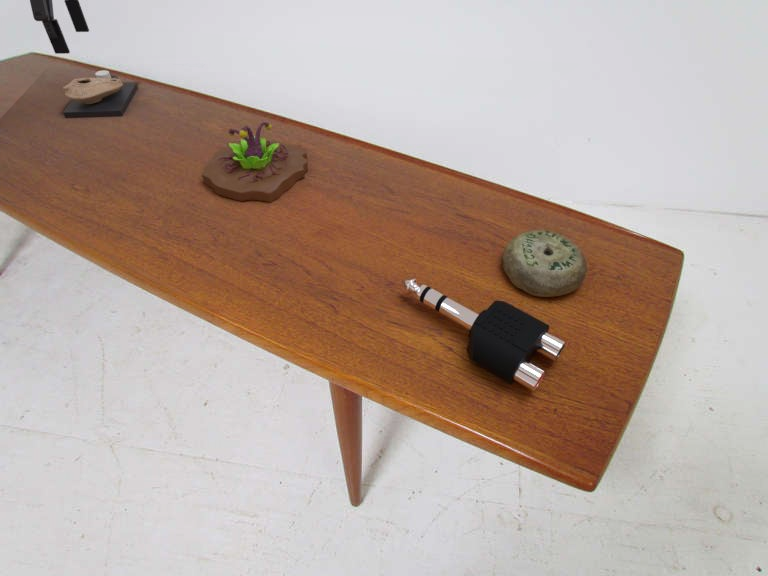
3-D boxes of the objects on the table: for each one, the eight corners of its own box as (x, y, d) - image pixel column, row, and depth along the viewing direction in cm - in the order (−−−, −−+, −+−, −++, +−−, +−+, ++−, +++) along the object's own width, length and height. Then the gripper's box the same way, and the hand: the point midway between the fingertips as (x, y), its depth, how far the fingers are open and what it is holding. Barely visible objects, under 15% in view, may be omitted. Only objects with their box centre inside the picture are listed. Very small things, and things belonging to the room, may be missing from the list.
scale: (65, 118, 118) (58, 104, 115) (87, 88, 129) (81, 75, 127) (122, 116, 119) (117, 102, 117) (138, 87, 131) (134, 73, 128)
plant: (187, 190, 98) (171, 138, 90) (236, 143, 111) (226, 94, 103) (280, 210, 94) (271, 157, 86) (320, 158, 107) (315, 108, 99)
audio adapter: (536, 380, 61) (379, 287, 72) (526, 403, 65) (379, 312, 76) (573, 328, 67) (424, 250, 78) (562, 352, 71) (421, 274, 82)
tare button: (96, 83, 124) (93, 75, 123) (100, 78, 127) (97, 70, 125) (110, 83, 125) (106, 75, 123) (113, 78, 127) (110, 70, 126)
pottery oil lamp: (129, 99, 121) (109, 79, 115) (85, 121, 121) (63, 102, 115) (121, 74, 124) (101, 53, 118) (78, 95, 124) (56, 75, 118)
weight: (570, 312, 77) (580, 290, 73) (488, 282, 81) (493, 259, 78) (590, 261, 85) (600, 239, 82) (515, 236, 90) (521, 213, 86)
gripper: (32, -86, 105) (73, 23, 120) (-23, -61, 87) (33, 63, 102) (70, -86, 106) (106, 23, 121) (23, -61, 88) (72, 62, 103)
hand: (73, 41), depth 111 cm, fingers open, 13 cm apart
